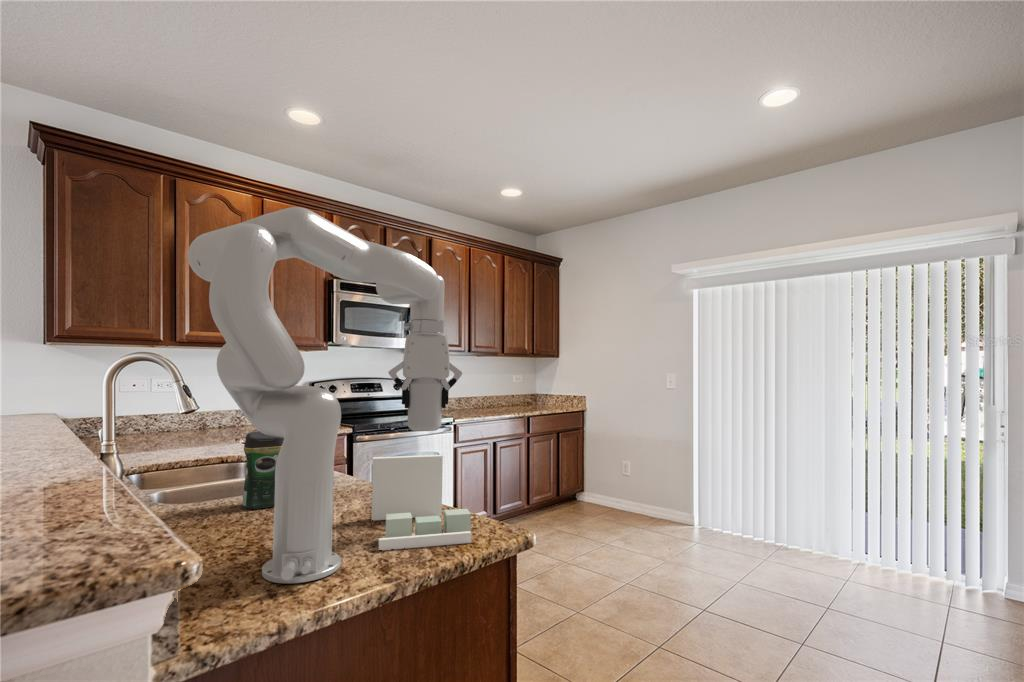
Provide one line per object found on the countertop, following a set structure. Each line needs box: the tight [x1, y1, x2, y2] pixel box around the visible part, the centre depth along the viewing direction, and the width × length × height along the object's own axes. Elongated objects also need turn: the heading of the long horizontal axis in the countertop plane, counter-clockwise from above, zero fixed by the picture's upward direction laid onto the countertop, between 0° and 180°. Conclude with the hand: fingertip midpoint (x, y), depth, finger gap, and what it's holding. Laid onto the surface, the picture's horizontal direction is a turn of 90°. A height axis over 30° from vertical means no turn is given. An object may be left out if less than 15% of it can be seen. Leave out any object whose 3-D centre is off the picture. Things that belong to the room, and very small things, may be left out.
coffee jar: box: [242, 430, 284, 510], centre depth 130 cm, size 10×8×19 cm
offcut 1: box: [384, 512, 413, 538], centre depth 104 cm, size 4×5×5 cm
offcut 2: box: [443, 508, 472, 533], centre depth 108 cm, size 4×5×5 cm
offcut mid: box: [414, 516, 443, 536], centre depth 106 cm, size 4×5×4 cm
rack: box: [371, 454, 472, 551], centre depth 111 cm, size 22×19×14 cm
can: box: [407, 377, 443, 432], centre depth 115 cm, size 8×8×12 cm
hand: (425, 407), depth 115 cm, fingers closed on can, 7 cm apart
